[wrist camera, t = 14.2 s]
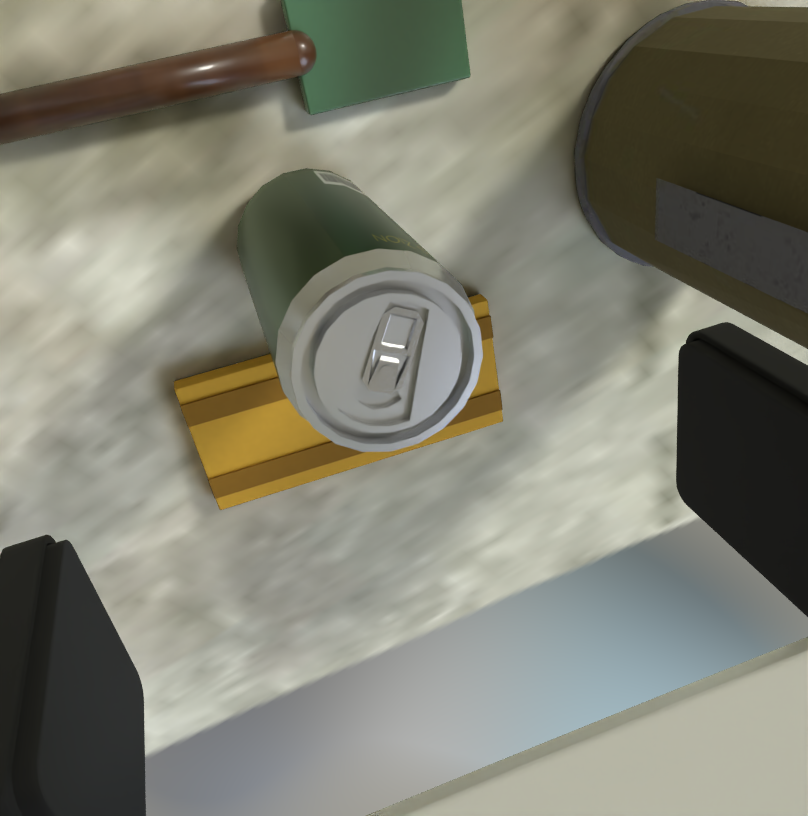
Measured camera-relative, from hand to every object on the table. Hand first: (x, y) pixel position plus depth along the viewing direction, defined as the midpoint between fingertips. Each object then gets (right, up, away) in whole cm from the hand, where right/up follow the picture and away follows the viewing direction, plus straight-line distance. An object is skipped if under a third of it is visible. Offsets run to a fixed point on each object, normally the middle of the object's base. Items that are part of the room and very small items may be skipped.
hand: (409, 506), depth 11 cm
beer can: (-4, +8, +18) cm, 20 cm away
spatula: (-6, +13, +14) cm, 20 cm away
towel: (-2, +2, +21) cm, 22 cm away
